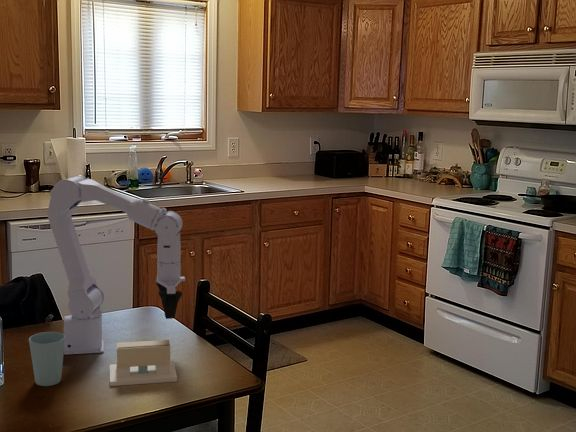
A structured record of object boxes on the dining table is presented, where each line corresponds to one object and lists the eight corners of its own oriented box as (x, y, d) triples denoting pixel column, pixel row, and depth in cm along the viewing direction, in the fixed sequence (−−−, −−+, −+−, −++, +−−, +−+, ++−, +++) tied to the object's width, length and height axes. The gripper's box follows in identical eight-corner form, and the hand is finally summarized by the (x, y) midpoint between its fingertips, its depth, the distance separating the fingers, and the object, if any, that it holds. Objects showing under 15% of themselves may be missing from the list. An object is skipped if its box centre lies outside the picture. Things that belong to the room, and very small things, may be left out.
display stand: (109, 386, 154) (109, 373, 154) (109, 368, 164) (109, 356, 163) (177, 381, 158) (177, 369, 158) (173, 364, 168) (173, 352, 167)
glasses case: (117, 367, 157) (116, 348, 156) (116, 360, 161) (116, 342, 160) (170, 364, 160) (170, 345, 159) (168, 357, 164) (168, 339, 163)
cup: (47, 391, 151) (46, 346, 149) (22, 383, 154) (21, 339, 152) (73, 379, 157) (72, 335, 156) (48, 372, 161) (47, 329, 159)
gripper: (188, 267, 165) (187, 321, 167) (182, 253, 179) (181, 303, 181) (158, 268, 163) (158, 323, 166) (154, 254, 177) (154, 304, 179)
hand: (168, 313), depth 173 cm, fingers open, 7 cm apart
